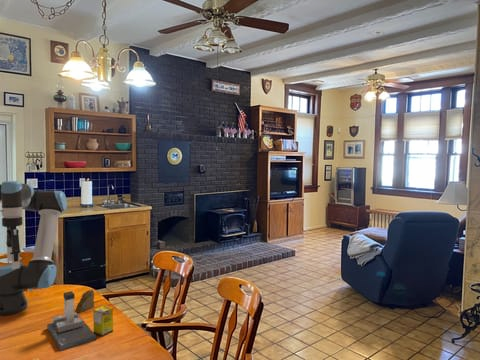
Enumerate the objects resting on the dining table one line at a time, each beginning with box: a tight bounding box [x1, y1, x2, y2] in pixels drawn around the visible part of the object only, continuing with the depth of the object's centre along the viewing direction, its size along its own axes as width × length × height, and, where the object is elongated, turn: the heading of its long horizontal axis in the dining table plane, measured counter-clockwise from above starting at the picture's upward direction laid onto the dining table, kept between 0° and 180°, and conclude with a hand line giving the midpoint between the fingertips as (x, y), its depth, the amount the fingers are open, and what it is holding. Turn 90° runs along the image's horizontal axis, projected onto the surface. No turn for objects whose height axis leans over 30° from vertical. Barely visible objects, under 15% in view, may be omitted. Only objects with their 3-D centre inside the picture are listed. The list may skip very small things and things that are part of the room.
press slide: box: [56, 290, 84, 333], centre depth 161 cm, size 5×10×15 cm, turn 129°
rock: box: [74, 289, 95, 314], centre depth 186 cm, size 11×9×10 cm
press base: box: [46, 311, 97, 351], centre depth 159 cm, size 24×14×5 cm, turn 39°
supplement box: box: [92, 305, 114, 337], centre depth 161 cm, size 6×6×11 cm
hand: (13, 264), depth 158 cm, fingers open, 13 cm apart
